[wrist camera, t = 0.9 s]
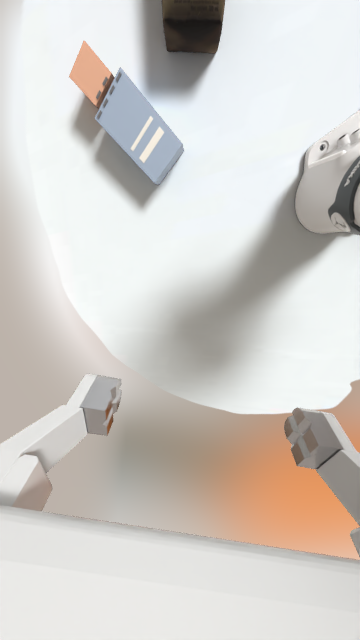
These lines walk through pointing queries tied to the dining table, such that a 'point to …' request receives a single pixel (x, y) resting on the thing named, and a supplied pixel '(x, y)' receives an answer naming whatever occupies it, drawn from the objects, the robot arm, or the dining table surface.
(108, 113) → the double-striped slate block
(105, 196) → the dining table surface
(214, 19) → the beverage carton
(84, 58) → the stub
